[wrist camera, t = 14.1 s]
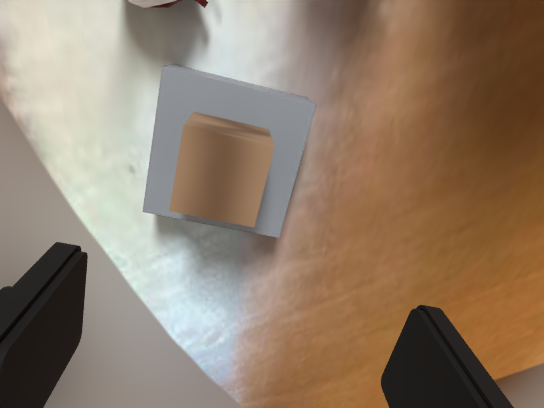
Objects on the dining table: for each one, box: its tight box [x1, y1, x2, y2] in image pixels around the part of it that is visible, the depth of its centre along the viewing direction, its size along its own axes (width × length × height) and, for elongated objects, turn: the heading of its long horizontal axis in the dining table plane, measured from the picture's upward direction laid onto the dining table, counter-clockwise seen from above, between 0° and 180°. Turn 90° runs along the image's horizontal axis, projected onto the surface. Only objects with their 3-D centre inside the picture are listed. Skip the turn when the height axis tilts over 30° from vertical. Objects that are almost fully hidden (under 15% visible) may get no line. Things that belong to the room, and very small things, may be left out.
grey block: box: [143, 64, 316, 238], centre depth 34 cm, size 12×12×5 cm
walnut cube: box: [169, 112, 275, 227], centre depth 29 cm, size 6×6×6 cm
